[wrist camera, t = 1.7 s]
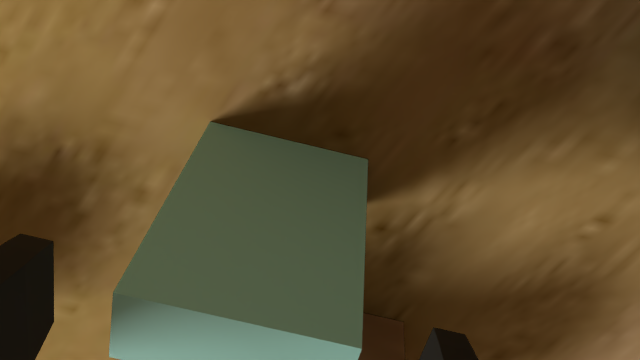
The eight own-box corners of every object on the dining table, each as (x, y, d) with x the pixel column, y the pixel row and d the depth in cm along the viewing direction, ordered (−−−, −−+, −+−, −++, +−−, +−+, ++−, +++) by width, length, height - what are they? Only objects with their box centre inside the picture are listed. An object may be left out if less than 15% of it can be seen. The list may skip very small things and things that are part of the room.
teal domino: (210, 121, 17) (113, 292, 10) (367, 159, 17) (361, 348, 11) (203, 171, 17) (108, 356, 11) (353, 206, 18) (340, 408, 11)
